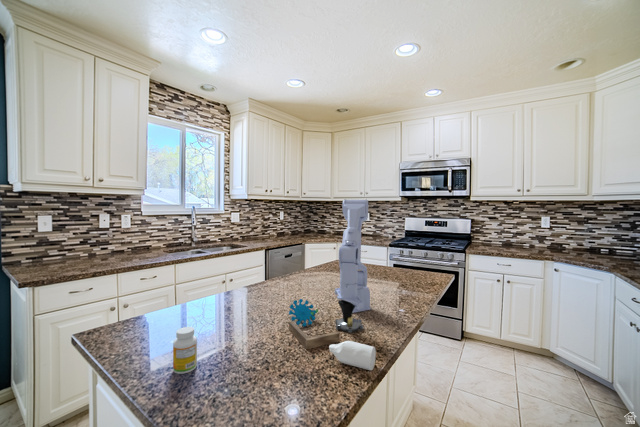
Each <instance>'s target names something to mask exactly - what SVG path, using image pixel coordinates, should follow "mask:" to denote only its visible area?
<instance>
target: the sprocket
mask: <svg viewBox="0 0 640 427" xmlns="http://www.w3.org/2000/svg"><path fill="white" fill-rule="evenodd" d="M334 324H336V325H335V329H336V330H337V331H338V330H340V331H343V332H347V333H351V334H352V333H354V332H357V331H359V330H361V331H363V330H364V325H363V324H362V320H361V319H357V318H353V315H352V316H350V317H347V323H345V322H344V320H343V317H341V318H339V319H337V318H336V319H335V320H334Z"/></svg>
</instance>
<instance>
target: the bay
mask: <svg viewBox="0 0 640 427" xmlns="http://www.w3.org/2000/svg"><path fill="white" fill-rule="evenodd" d="M288 330H289V332H291V334H292V335H293V336H294V337H295V338H296V339H297V340H298V342H299V343H301V345H302V346H303V347H304V348H305V349H306V350H311V349H313V348H314V349H315V348H318V347H323V346H326V345H332V344H335V343H339V342H341V333H340V332H339V331H338V330H337V331H333V332H329V333H325V334H321V335H320V334H319V335H315V336H311V337H309V336H307V334H305V332H304V331H302V330H303V329H301V328H300V327H299V326H298V325H297V324H296V322H294V321H292V320H291V321H289V322H288Z"/></svg>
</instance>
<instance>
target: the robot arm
mask: <svg viewBox="0 0 640 427" xmlns="http://www.w3.org/2000/svg"><path fill="white" fill-rule="evenodd" d="M341 206H342V210H341V211H342V215H343V217H344V220H345V221H347V228H345V229H344V231H343V233H342V234H343V235H342V240H341V241H342V243H341V246H340V247H339V248H338V263H339V264H338V266H339V268H338V269H339V287H338V288H337V287H336V288H334V294H335V295H336V299H337V300H338V301H337V302H338V305H339V307H340V309H341V314H342V318H343V320H344V322H345V323H347V317H350V316H352V317H353V314H355V313H360V312H364V311H368V310H369V311H370V310H371V309H372V308H371V292H370V289H369V287H368V268H367V266H366V265H365V264H364V263H363V262H362V260H361V259H362V257H361V256H362V253H361V252H362V226H363V224H364V222H365V221H368V218H369V200H367V198H366V199H344V200H342V205H341Z"/></svg>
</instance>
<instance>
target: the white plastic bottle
mask: <svg viewBox="0 0 640 427" xmlns="http://www.w3.org/2000/svg"><path fill="white" fill-rule="evenodd" d="M328 348H329V352H330V353H332V355H334V356H335V358H336V359H337V360H338V361H339V362H340V363H342V364H345V365H347V366H353V367H355V368H356V367H357V368H361V369H363V370H368V371H373V369H374V367H375V363H376V357H377V356H376V353H377V352H376V347H375V346H371V345H368V344H364V343H359V342H356V341H352V340H345V341H343V342H340V343H339V342H338V343H336V344H335V343H331V344H329V347H328Z"/></svg>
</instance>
